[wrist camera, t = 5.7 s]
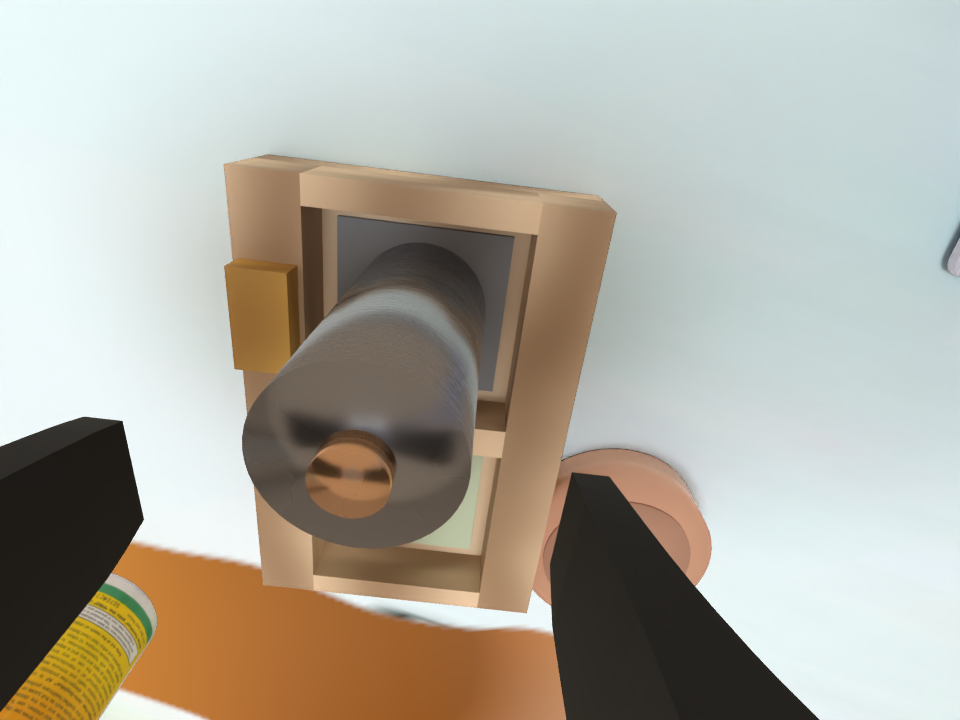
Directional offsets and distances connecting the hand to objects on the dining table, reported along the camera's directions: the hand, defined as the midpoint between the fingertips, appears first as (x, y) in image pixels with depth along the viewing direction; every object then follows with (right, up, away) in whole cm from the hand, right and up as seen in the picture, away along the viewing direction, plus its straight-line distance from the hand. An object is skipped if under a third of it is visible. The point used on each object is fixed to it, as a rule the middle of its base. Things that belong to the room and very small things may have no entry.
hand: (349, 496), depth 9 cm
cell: (0, +4, +8) cm, 9 cm away
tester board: (0, +1, +10) cm, 11 cm away
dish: (+7, -4, +13) cm, 15 cm away
